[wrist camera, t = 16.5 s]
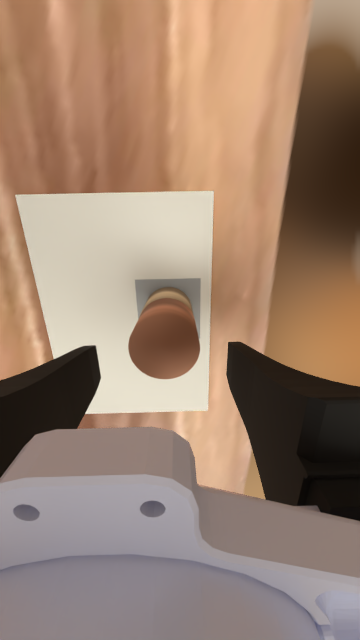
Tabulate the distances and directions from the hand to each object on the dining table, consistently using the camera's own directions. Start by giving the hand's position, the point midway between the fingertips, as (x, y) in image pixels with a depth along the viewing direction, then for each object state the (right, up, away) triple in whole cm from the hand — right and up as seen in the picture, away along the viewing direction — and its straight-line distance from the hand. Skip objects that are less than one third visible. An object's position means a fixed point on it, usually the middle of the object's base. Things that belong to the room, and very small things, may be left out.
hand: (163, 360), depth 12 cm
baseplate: (-4, +2, +10) cm, 11 cm away
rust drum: (0, +2, +5) cm, 6 cm away
